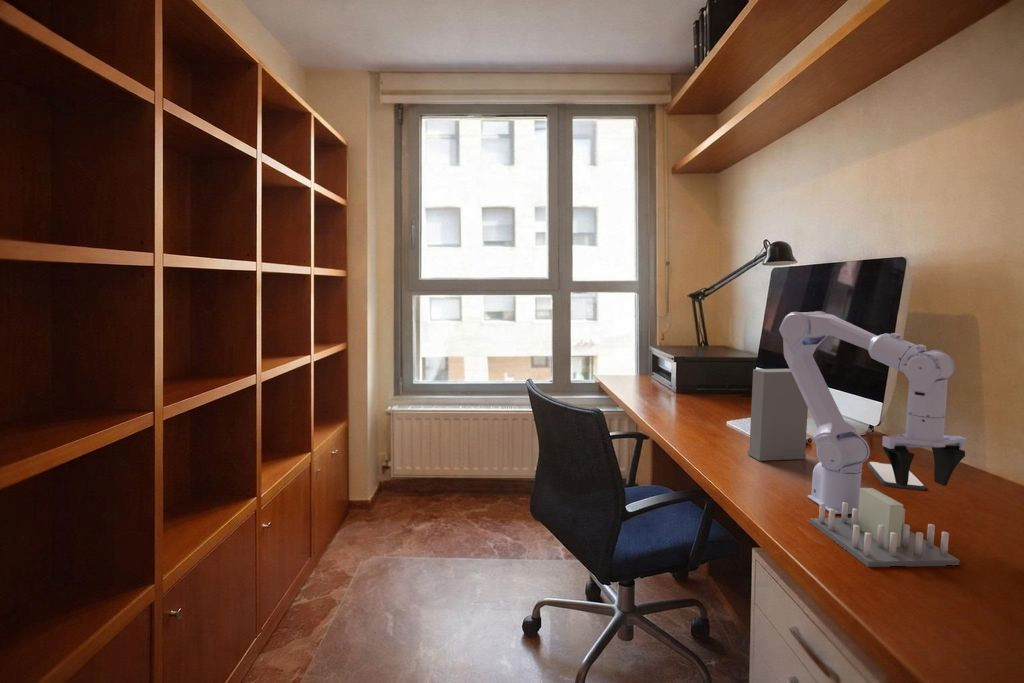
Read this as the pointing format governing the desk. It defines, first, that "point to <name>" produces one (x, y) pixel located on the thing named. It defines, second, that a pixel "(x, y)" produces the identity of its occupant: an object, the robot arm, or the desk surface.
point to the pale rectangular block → (879, 514)
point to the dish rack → (874, 551)
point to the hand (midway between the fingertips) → (920, 484)
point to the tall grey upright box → (777, 416)
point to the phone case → (888, 479)
